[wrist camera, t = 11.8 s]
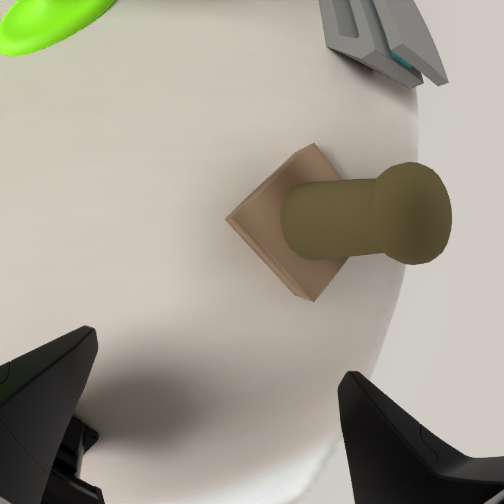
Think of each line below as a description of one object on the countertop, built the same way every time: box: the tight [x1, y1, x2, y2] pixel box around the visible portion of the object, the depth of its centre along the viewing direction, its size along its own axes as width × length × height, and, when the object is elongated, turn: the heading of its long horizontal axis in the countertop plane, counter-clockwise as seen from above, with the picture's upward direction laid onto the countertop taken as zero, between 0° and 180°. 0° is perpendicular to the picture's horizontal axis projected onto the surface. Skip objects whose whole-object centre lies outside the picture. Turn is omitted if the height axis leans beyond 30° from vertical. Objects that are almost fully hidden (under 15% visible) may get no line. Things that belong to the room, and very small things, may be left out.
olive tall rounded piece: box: [281, 162, 452, 265], centre depth 15 cm, size 6×6×11 cm
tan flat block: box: [225, 143, 349, 302], centre depth 22 cm, size 9×9×3 cm
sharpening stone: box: [319, 0, 448, 89], centre depth 20 cm, size 25×8×11 cm, turn 177°
